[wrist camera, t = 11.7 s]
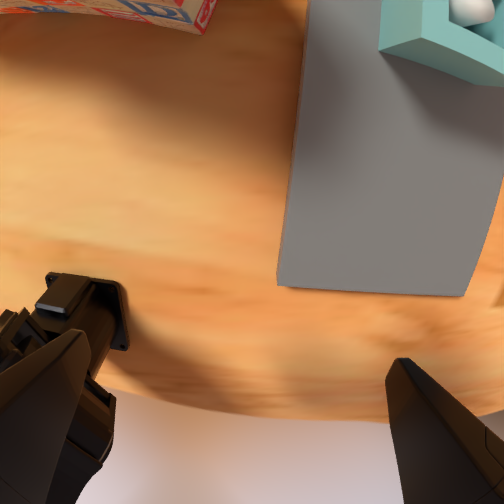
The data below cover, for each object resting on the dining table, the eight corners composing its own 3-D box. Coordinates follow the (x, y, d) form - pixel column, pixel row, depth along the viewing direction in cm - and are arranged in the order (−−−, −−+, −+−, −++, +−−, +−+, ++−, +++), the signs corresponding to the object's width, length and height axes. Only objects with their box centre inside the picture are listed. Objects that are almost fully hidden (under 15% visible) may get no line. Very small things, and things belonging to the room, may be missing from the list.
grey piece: (454, 285, 21) (492, 334, 16) (276, 273, 21) (281, 334, 16) (502, -16, 10) (555, -28, 5) (313, -88, 10) (330, -139, 5)
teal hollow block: (475, 84, 13) (530, 90, 9) (378, 50, 13) (421, 37, 9) (477, -6, 10) (527, -20, 6) (382, -46, 10) (418, -81, 6)
